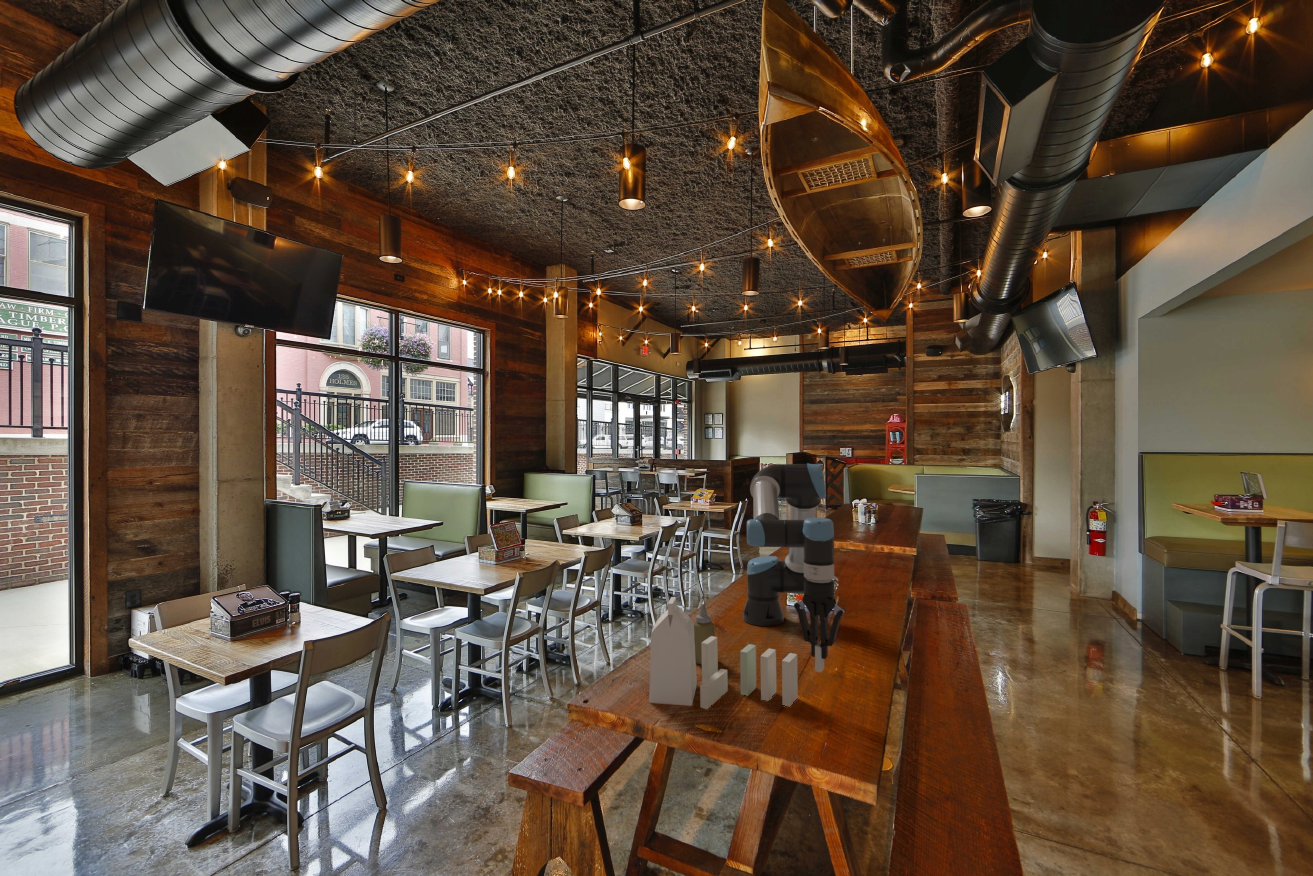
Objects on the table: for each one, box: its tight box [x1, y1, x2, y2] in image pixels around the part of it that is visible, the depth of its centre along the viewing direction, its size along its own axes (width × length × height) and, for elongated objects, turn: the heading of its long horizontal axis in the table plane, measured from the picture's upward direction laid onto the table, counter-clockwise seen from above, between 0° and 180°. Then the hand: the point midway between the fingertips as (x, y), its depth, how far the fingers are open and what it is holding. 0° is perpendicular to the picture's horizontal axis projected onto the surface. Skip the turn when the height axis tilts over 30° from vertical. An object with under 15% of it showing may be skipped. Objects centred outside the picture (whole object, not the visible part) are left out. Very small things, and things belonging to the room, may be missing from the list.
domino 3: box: [739, 643, 757, 697], centre depth 159 cm, size 2×6×12 cm, turn 147°
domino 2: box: [699, 668, 729, 710], centre depth 155 cm, size 2×6×12 cm
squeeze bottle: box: [693, 603, 716, 666], centre depth 179 cm, size 8×8×18 cm
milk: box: [648, 596, 698, 707], centre depth 158 cm, size 12×12×26 cm
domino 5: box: [781, 652, 799, 708], centre depth 152 cm, size 2×6×12 cm, turn 147°
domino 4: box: [760, 647, 777, 702], centre depth 155 cm, size 2×6×12 cm, turn 147°
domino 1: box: [701, 636, 719, 684], centre depth 165 cm, size 2×6×12 cm, turn 147°
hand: (819, 669), depth 148 cm, fingers closed
